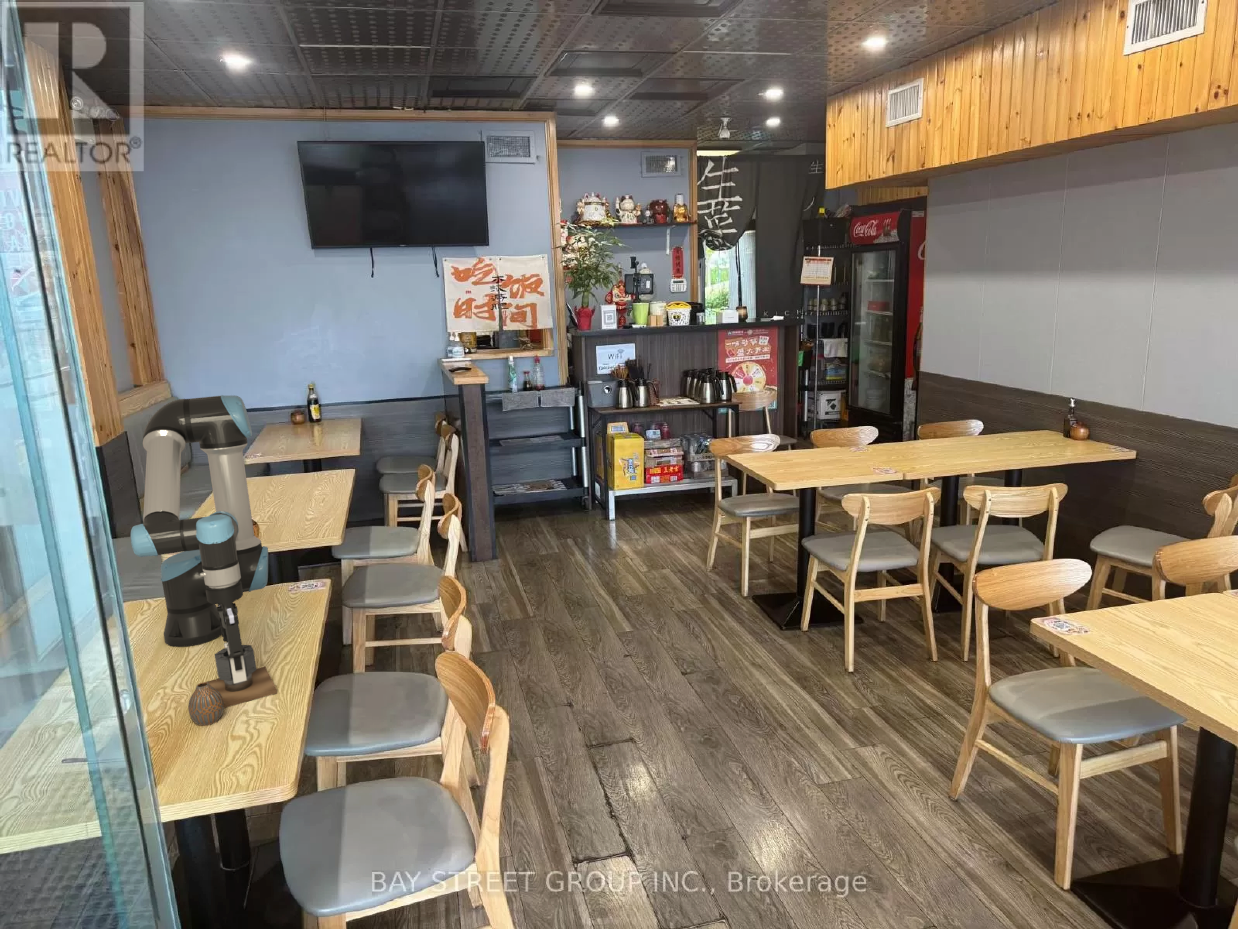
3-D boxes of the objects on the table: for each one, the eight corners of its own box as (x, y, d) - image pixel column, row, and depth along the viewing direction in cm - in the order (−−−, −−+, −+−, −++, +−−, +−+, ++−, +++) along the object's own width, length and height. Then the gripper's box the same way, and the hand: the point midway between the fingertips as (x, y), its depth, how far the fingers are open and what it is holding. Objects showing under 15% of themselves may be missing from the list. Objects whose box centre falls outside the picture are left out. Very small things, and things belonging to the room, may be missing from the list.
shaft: (223, 684, 197) (216, 643, 195) (250, 677, 200) (244, 636, 198) (227, 694, 192) (220, 652, 190) (254, 686, 195) (248, 645, 193)
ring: (216, 670, 196) (213, 650, 195) (252, 661, 201) (249, 641, 200) (220, 683, 190) (217, 663, 189) (258, 673, 194) (255, 653, 193)
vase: (216, 709, 188) (211, 674, 186) (231, 719, 183) (225, 682, 181) (185, 723, 183) (179, 686, 181) (200, 732, 178) (193, 695, 176)
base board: (203, 687, 199) (202, 682, 198) (265, 670, 206) (265, 666, 205) (211, 711, 187) (210, 706, 187) (276, 693, 194) (276, 688, 194)
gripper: (199, 573, 197) (213, 662, 202) (211, 600, 180) (226, 696, 185) (233, 567, 201) (246, 654, 206) (248, 592, 184) (262, 686, 189)
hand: (237, 674), depth 195 cm, fingers closed on ring, 8 cm apart
